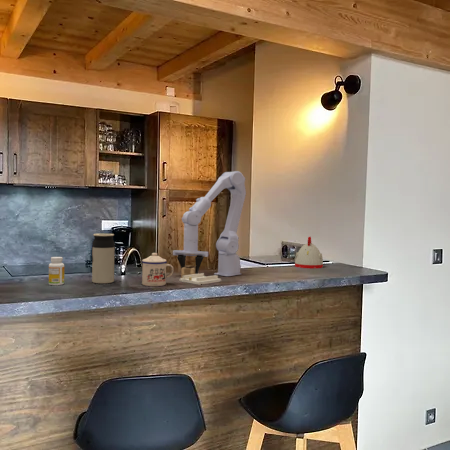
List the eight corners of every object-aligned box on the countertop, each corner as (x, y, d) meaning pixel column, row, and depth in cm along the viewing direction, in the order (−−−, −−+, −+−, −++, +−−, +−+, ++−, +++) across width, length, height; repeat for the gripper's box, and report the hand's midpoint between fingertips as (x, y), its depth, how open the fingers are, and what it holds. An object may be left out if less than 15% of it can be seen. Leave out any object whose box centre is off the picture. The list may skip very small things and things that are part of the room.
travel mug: (116, 280, 187) (117, 233, 187) (109, 284, 180) (110, 235, 179) (96, 280, 188) (97, 233, 187) (88, 283, 180) (89, 234, 180)
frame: (187, 275, 207) (187, 265, 207) (198, 275, 206) (198, 266, 206) (181, 278, 198) (181, 268, 198) (193, 278, 197) (193, 268, 197)
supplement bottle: (59, 282, 181) (59, 256, 180) (67, 284, 177) (67, 257, 177) (45, 284, 177) (45, 257, 176) (53, 286, 173) (54, 258, 173)
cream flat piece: (200, 278, 199) (200, 272, 199) (221, 281, 192) (221, 275, 192) (179, 281, 190) (179, 275, 190) (199, 284, 183) (199, 278, 183)
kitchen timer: (292, 267, 241) (293, 236, 241) (296, 264, 255) (297, 235, 254) (321, 269, 237) (322, 238, 237) (324, 265, 250) (325, 236, 250)
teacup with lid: (146, 287, 175) (146, 254, 175) (138, 283, 183) (138, 252, 183) (177, 285, 181) (178, 253, 180) (168, 281, 189) (168, 251, 188)
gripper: (170, 240, 199) (170, 273, 199) (205, 241, 196) (205, 275, 197) (175, 239, 206) (175, 271, 206) (209, 240, 203) (209, 273, 204)
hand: (190, 273), depth 202 cm, fingers closed on frame, 5 cm apart
